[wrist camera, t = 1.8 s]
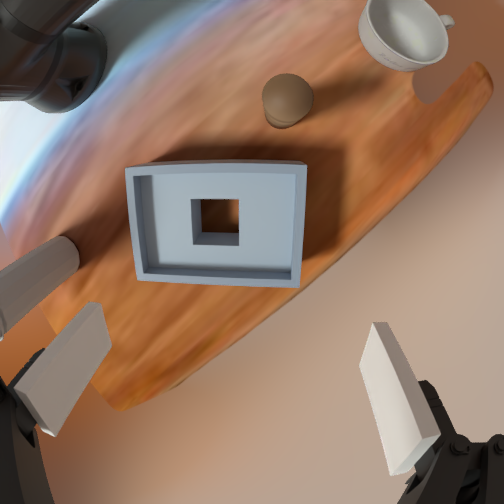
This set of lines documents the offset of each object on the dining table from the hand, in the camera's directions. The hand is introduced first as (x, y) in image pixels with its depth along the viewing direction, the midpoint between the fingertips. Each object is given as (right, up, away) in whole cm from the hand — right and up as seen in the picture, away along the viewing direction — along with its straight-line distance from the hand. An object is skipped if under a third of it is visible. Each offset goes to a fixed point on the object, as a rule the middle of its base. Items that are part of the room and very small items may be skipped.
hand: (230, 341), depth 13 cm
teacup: (+21, +33, +15) cm, 42 cm away
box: (-3, +9, +25) cm, 27 cm away
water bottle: (-31, +4, +30) cm, 43 cm away
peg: (+5, +21, +20) cm, 30 cm away
